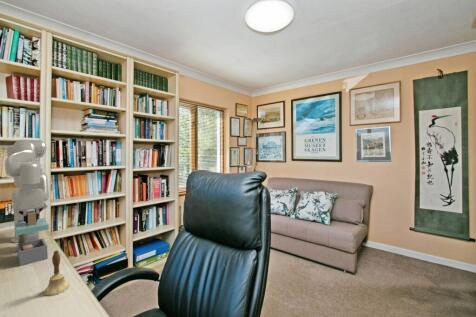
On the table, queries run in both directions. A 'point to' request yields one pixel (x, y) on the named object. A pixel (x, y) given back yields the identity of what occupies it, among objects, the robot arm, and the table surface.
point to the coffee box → (28, 236)
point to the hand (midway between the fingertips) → (31, 221)
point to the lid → (31, 224)
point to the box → (32, 251)
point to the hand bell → (56, 278)
